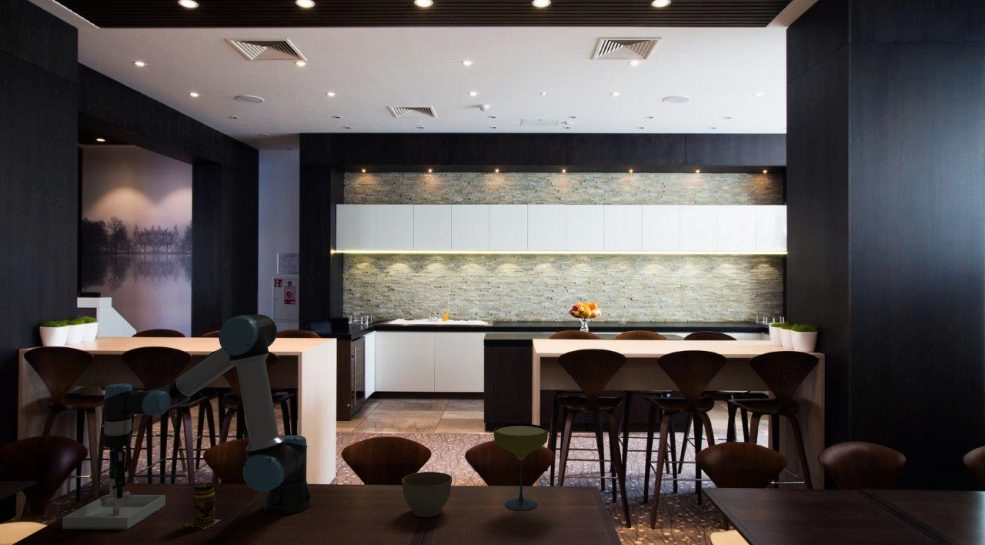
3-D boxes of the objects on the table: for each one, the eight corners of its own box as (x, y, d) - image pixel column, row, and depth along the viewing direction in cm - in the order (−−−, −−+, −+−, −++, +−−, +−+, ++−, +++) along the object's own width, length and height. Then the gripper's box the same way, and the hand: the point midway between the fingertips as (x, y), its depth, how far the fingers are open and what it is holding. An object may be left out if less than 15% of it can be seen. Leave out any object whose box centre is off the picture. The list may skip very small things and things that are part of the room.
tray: (165, 505, 202) (165, 495, 202) (127, 529, 182) (127, 517, 182) (106, 505, 202) (106, 494, 202) (62, 529, 182) (62, 517, 182)
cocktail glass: (533, 518, 189) (533, 438, 189) (484, 508, 198) (483, 431, 198) (557, 501, 204) (556, 426, 205) (510, 492, 213) (509, 421, 214)
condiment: (204, 529, 181) (204, 489, 182) (181, 526, 184) (182, 486, 184) (221, 520, 188) (222, 481, 189) (200, 517, 191) (200, 479, 191)
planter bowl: (462, 511, 195) (462, 477, 195) (424, 526, 183) (424, 490, 184) (429, 500, 206) (429, 468, 206) (391, 513, 194) (391, 478, 195)
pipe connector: (117, 519, 186) (117, 486, 187) (89, 520, 188) (89, 487, 189) (142, 509, 196) (141, 477, 197) (115, 510, 198) (114, 478, 199)
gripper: (99, 428, 199) (98, 496, 198) (108, 441, 181) (107, 516, 181) (126, 425, 204) (125, 491, 203) (136, 437, 186) (135, 510, 185)
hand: (116, 503), depth 192 cm, fingers open, 10 cm apart
